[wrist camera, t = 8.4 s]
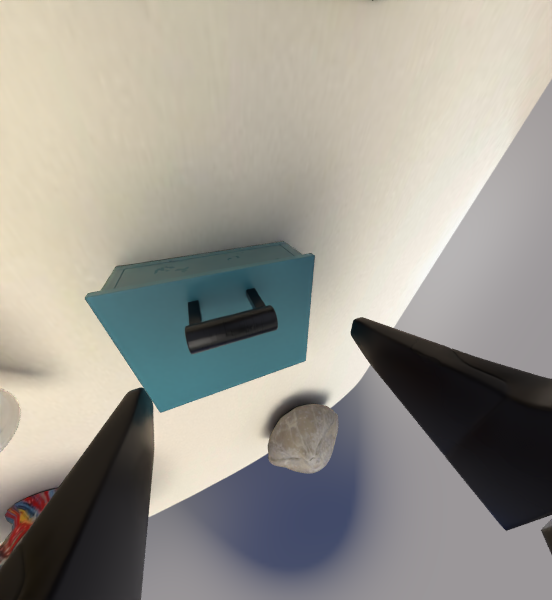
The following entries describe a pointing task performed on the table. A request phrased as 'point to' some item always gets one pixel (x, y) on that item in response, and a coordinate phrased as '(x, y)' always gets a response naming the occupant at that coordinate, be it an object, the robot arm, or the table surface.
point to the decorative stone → (304, 438)
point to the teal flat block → (196, 264)
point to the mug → (8, 417)
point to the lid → (210, 327)
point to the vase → (23, 520)
